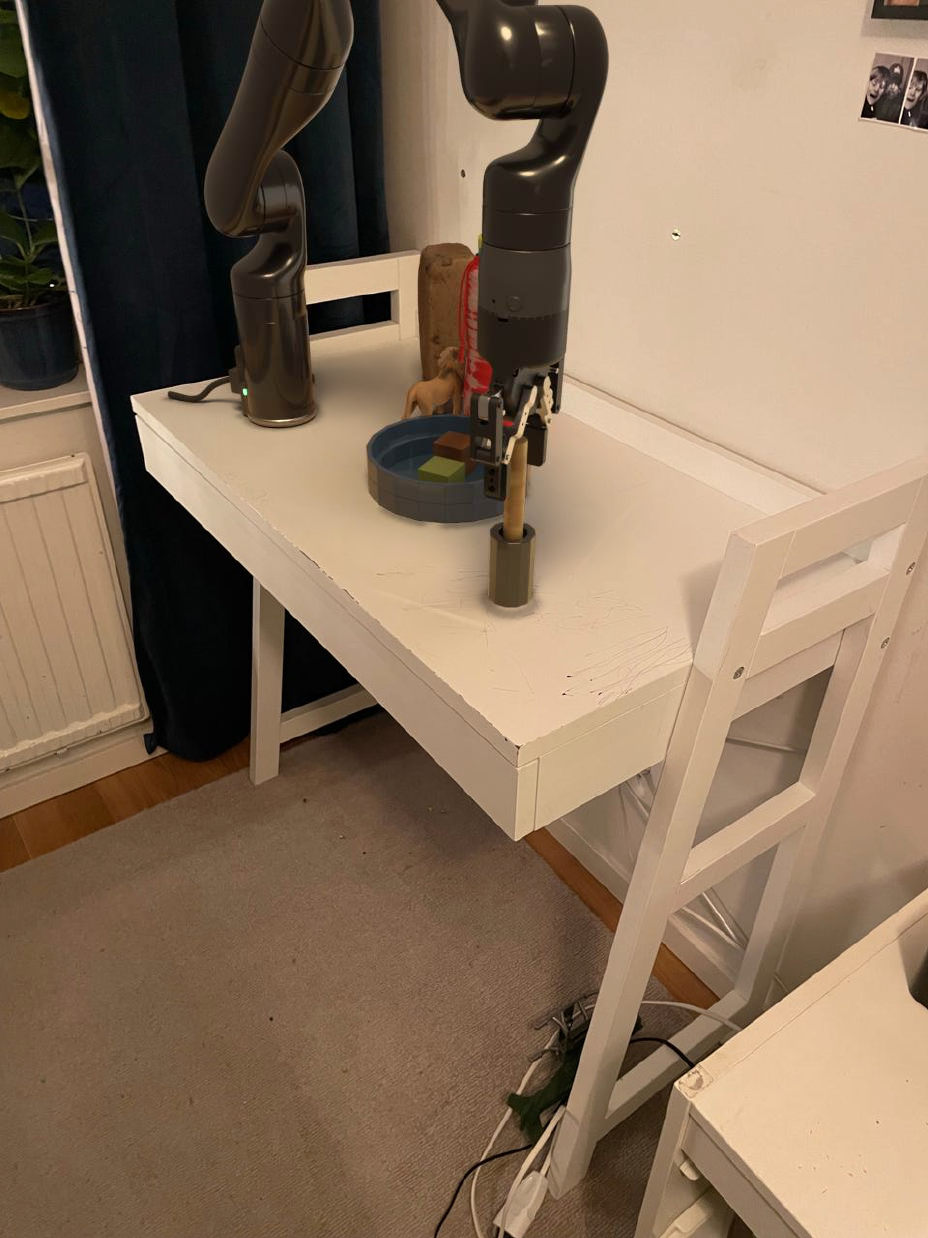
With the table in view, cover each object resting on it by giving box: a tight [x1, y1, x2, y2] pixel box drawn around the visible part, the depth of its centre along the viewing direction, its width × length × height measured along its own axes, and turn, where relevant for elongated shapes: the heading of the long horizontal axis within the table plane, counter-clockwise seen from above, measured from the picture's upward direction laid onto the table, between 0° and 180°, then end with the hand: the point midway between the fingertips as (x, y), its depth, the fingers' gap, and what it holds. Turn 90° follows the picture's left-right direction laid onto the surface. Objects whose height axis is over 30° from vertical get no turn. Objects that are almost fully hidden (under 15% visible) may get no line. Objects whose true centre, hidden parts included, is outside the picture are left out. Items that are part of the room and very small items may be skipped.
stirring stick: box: [502, 436, 528, 540], centre depth 88 cm, size 2×2×17 cm
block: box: [417, 242, 475, 398], centre depth 133 cm, size 11×8×20 cm
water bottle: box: [458, 233, 515, 426], centre depth 121 cm, size 12×8×25 cm, turn 101°
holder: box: [487, 521, 537, 609], centre depth 91 cm, size 4×4×8 cm
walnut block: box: [433, 431, 477, 477], centre depth 114 cm, size 4×4×4 cm
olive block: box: [418, 456, 465, 483], centre depth 108 cm, size 4×4×4 cm
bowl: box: [365, 413, 532, 524], centre depth 111 cm, size 19×19×6 cm
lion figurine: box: [400, 347, 466, 421], centre depth 125 cm, size 15×5×9 cm, turn 153°
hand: (515, 480), depth 85 cm, fingers open, 7 cm apart
